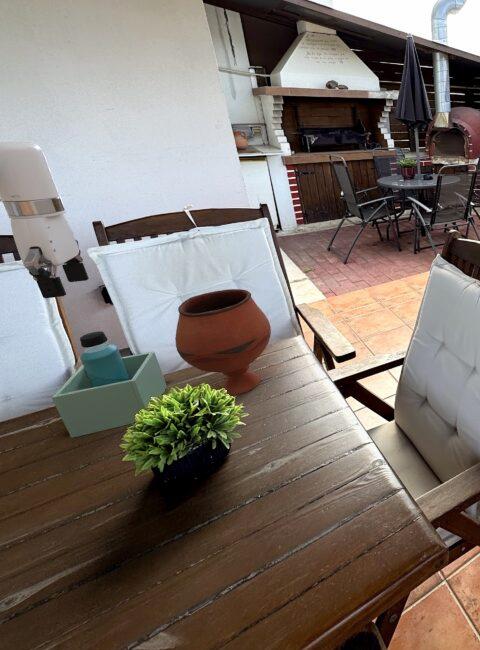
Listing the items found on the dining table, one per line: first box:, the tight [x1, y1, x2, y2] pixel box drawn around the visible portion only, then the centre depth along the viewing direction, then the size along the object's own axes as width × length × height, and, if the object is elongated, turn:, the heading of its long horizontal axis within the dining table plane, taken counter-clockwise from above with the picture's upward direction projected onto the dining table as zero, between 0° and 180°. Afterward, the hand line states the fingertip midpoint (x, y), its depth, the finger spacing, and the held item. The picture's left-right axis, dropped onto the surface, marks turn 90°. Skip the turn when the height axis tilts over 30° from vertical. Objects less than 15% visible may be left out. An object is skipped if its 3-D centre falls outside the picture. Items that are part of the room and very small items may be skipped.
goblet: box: [174, 288, 272, 396], centre depth 100 cm, size 19×19×25 cm
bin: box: [51, 351, 168, 439], centre depth 94 cm, size 14×14×11 cm
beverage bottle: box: [79, 330, 130, 388], centre depth 92 cm, size 6×7×20 cm
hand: (67, 288), depth 84 cm, fingers open, 9 cm apart
